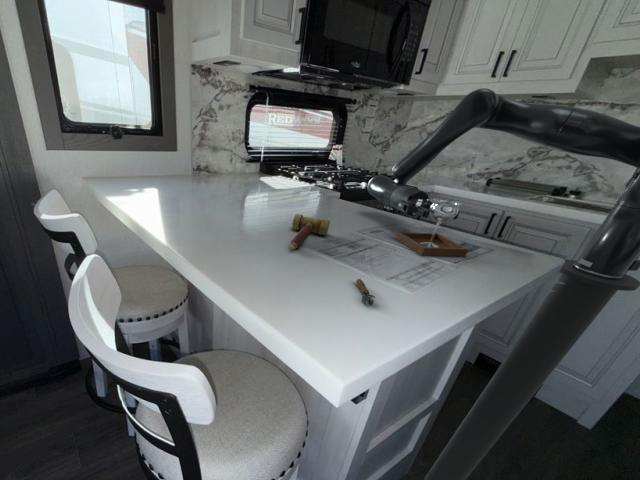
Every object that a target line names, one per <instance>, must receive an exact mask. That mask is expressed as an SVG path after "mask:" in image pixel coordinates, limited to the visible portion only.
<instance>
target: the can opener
mask: <svg viewBox="0 0 640 480" xmlns="http://www.w3.org/2000/svg"><path fill="white" fill-rule="evenodd" d="M356 285H357V286H358V288H359V289H360V291H361V292H362V294H363V295H362V296H361V299H362V301H363V302H364V303H366V304H367V305H369V306H370V305H374V302H375V300H374V299H376V296H375V295H373V294H370V291H369V290H368V288H367V287H366V285H365V283H364V281H363V280H362V279H361V278H358V279H356Z"/></svg>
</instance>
